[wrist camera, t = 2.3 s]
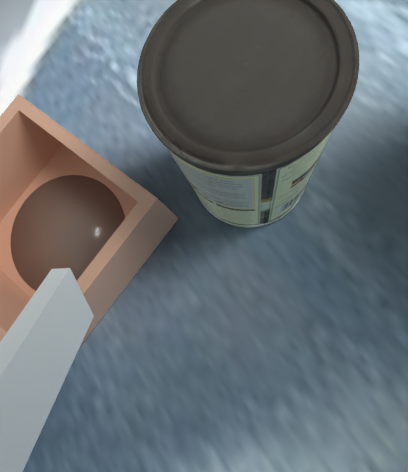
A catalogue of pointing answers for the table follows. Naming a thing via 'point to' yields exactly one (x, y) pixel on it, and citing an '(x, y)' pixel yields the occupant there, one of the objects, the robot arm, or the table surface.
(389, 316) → the table surface
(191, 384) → the table surface
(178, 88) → the coffee can
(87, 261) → the planter box
